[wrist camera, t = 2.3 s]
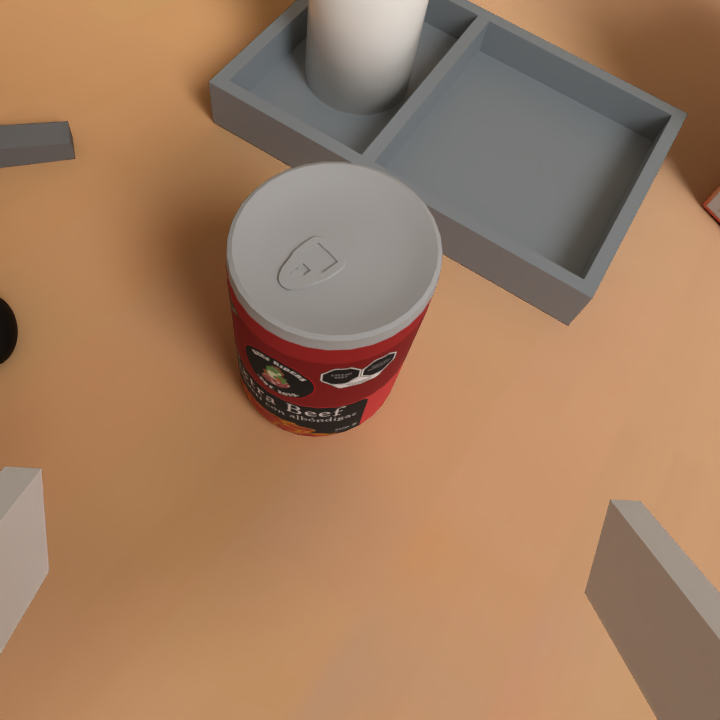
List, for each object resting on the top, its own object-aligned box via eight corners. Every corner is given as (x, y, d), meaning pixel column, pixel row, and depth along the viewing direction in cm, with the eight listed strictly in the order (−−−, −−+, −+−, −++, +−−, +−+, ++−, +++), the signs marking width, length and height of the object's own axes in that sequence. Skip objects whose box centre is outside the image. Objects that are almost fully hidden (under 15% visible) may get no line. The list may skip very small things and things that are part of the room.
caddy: (213, 122, 39) (208, 81, 36) (352, -14, 45) (357, -57, 42) (568, 325, 36) (592, 298, 33) (661, 148, 42) (687, 113, 39)
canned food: (208, 390, 32) (178, 269, 22) (298, 276, 35) (307, 125, 25) (341, 473, 31) (373, 386, 21) (420, 348, 34) (480, 221, 24)
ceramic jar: (284, 81, 40) (286, -89, 31) (340, 24, 42) (358, -148, 33) (375, 131, 39) (405, -28, 30) (427, 70, 41) (469, -93, 32)
